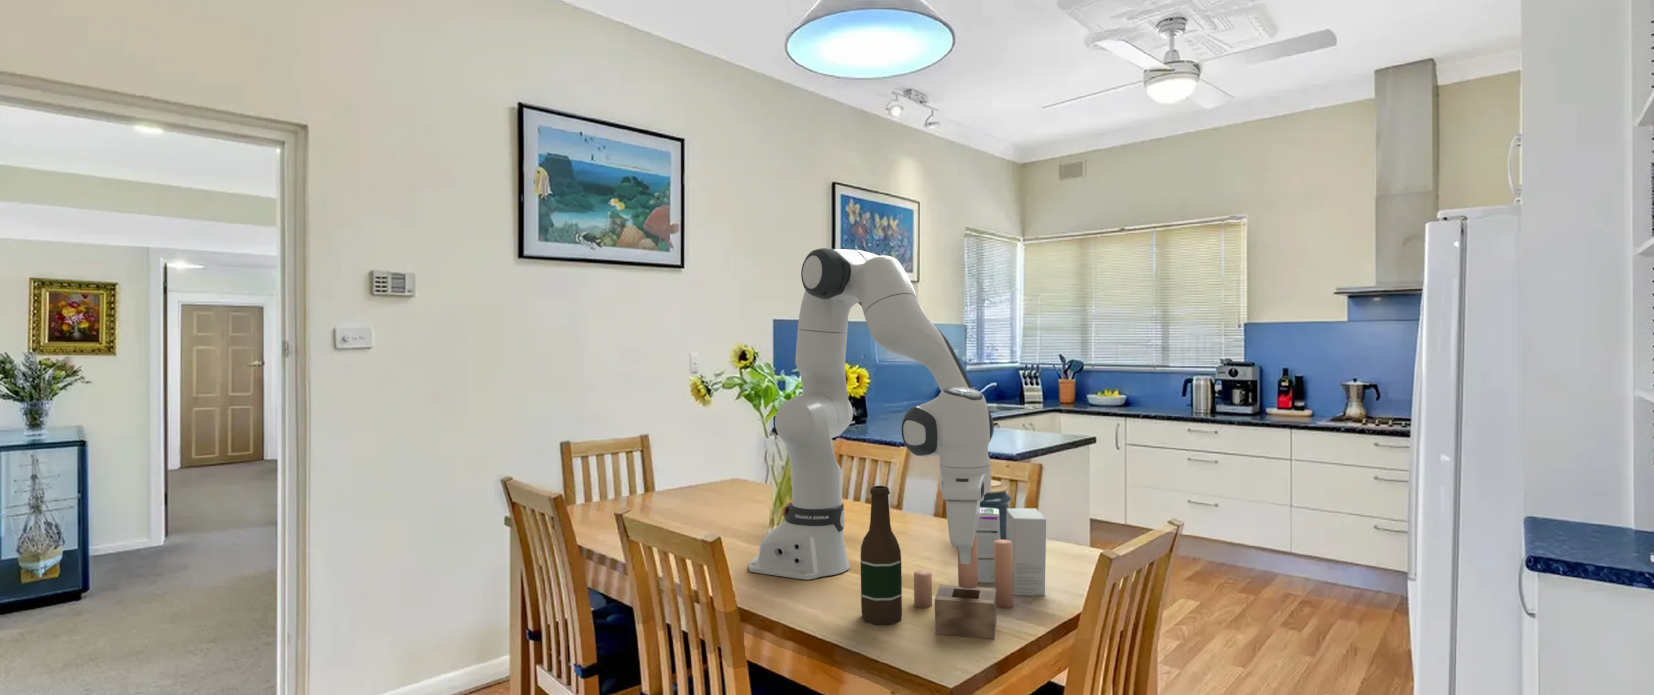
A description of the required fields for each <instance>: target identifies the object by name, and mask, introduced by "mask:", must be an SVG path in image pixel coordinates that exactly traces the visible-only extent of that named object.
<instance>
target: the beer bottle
mask: <svg viewBox="0 0 1654 695" xmlns="http://www.w3.org/2000/svg"><path fill="white" fill-rule="evenodd" d="M869 494H870V495H871V502H870V519H869V520H870V521H869V528H868V531H867V532H866V534H865V536H864V537H863V539H862V542H861V546H860V606H861V608H860V609H861V616H862V621H863V622H865V623H869V624H871V625H874V626H888V625H889V626H890V625H891V626H892V625H894V624H896V623H897V622H899V621H901V620H902V618H903V617H902V616H903V614H902V613H903V612H902V610H903V605H902V604H903V601H902V600H903V594H902V593H903V592H902V591H903V590H902V589H903V588H902V587H903V586H902V583H903V582H902V553H901V551H902V550H901V548H900V545H899V542H898V540H897V537H896V535H895V534H894V533H893V531H892V526H891V518H890V517H891V515H890V514H891V513H890V501H889V495H890V494H891V492H890V489H889V487H888V486H886V485H874V486H871V487H870V491H869Z"/></svg>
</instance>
